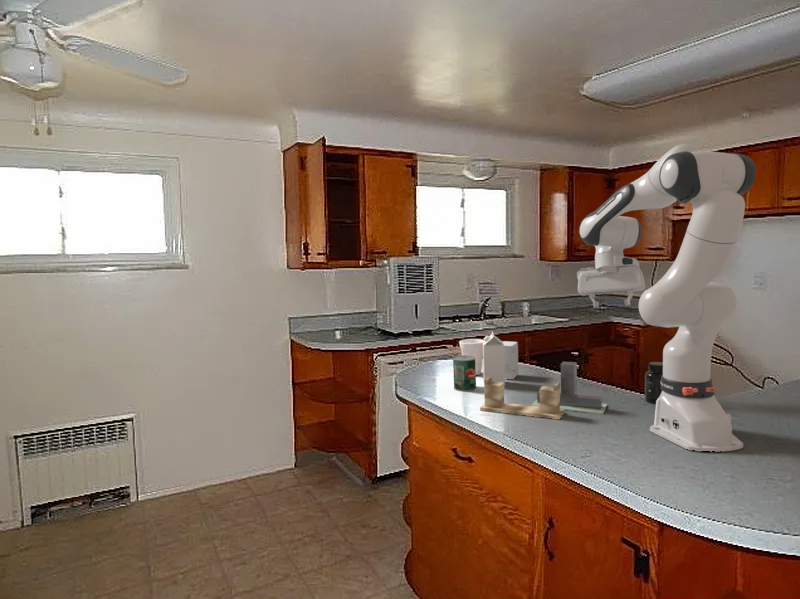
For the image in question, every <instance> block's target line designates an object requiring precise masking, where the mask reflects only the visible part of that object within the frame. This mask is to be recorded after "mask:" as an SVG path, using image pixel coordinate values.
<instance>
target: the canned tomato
mask: <svg viewBox="0 0 800 599" xmlns="http://www.w3.org/2000/svg"><path fill="white" fill-rule="evenodd" d="M452 364H453V366H452V368H453V389H454V390H455V391H459V392H470V391H474V390H476V389H477V375H476V367H475V357H474V356H467V355H463V356H462V355H456V356H453V357H452Z"/></svg>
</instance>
